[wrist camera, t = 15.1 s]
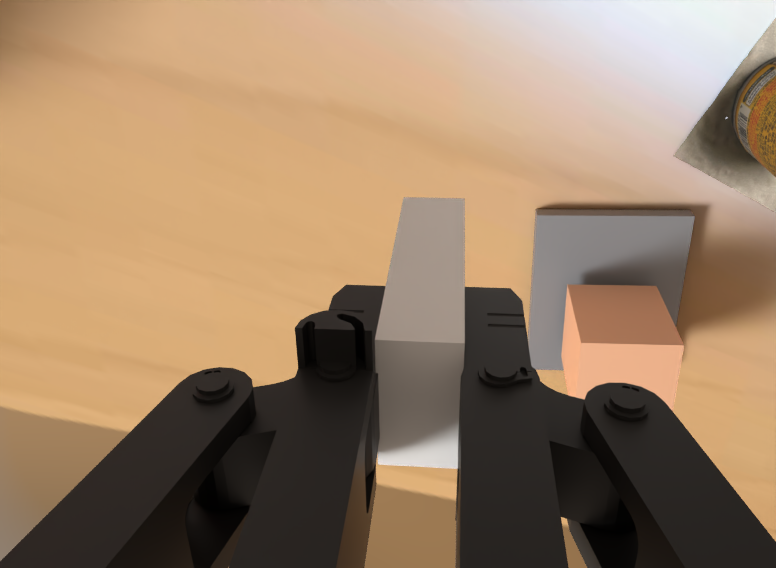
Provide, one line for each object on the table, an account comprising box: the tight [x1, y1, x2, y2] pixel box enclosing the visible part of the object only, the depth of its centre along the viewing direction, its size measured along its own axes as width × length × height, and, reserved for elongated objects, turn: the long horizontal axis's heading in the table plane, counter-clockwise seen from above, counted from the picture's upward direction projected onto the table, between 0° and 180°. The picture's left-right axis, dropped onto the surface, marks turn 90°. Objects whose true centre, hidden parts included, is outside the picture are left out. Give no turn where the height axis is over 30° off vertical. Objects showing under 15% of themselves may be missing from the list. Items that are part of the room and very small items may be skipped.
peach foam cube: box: [561, 284, 684, 411], centre depth 41 cm, size 5×5×7 cm
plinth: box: [528, 209, 695, 370], centre depth 45 cm, size 9×11×1 cm
